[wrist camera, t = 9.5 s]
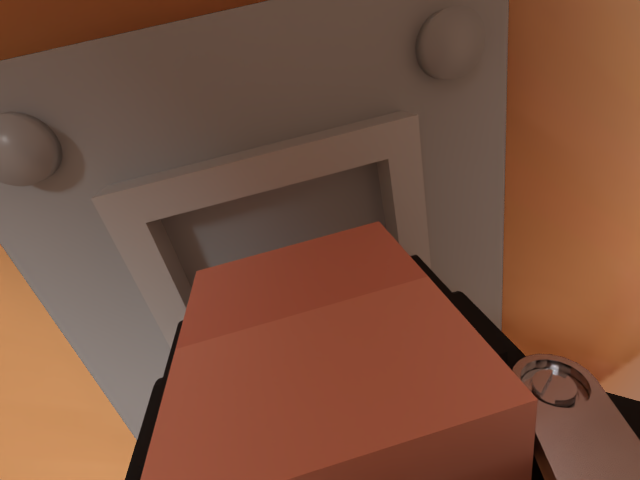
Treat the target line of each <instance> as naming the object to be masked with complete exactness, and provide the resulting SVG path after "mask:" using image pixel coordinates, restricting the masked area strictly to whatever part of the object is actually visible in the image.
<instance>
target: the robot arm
mask: <svg viewBox="0 0 640 480" xmlns="http://www.w3.org/2000/svg"><path fill="white" fill-rule="evenodd" d="M410 257H411V258H412V259H413V260H414V261H415V262H416V263H417V264H418V266H419V267H420V268H421V269H422V270H423V271H424V272H425V273H426V275H427V276H428V277H429V278H430V279H431V280H432V281H433V282H434V284H435V285H436V286H437V287H438V288H439V289H440V290H441V291H442V293H443V294H444V295H445V296H446V297H447V298H448V299H449V300H450V301H451V303H452V304H453V305H454V306H455V307H456V308H457V309H458V310H459V312H460V313H461V314H462V315H463V316H464V317H465V318H466V319H467V321H468V322H469V323H470V324H471V325H472V326H473V327H474V328H475V330H476V331H477V332H478V333H479V334H480V335H481V336H482V337H483V339H484V340H485V341H486V342H487V343H488V344H489V345H490V346H491V348H492V349H493V350H494V351H495V352H496V353H497V354H498V355H499V357H500V358H501V359H502V360H503V361H504V362H505V363H506V364H507V365H508V367H509V368H510V369H511V370H512V371H513V372H514V373H515V374H516V376H517V377H518V378H519V379H520V380H521V381H522V382H523V383H524V385H525V386H526V387H527V388H528V389H529V390H530V391H531V392H532V394H533V395H534V396H535V397H536V398H537V399H538V403H537V415H536V427H535V440H534V452H533V464H532V477H531V480H640V401H636V400H633V399H629V398H625V397H622V396H618V395H614V394H611V393H607V392H605V391H604V389H603V388H602V387H601V385H600V384H599V382H598V381H597V379H596V378H595V377H594V376H593V375H592V374H591V373H590V372H589V371H588V370H587V369H585V368H584V367H582V366H581V365H579V364H578V363H576V362H574V361H571V360H569V359H567V358H564V357H561V356H556V355H552V354H535V355H530V356H525V355H524V354H523V353H522V352H521V351H520V350H519V349H518V348H517V347H516V346H515V345H514V344H513V343H512V342H511V341H510V340H509V339H508V338H507V337H506V336H505V335H504V334H503V333H502V331H501V330H500V329H499V328H498V327H497V326H496V325H495V324H494V323H493V322H492V321H491V320H490V319H489V318H488V317H487V316H486V315H485V314H484V313H483V312H482V311H481V310H480V309H479V308H478V307H477V306H476V305H475V304H474V303H473V302H472V301H471V300H470V299H469V298H468V297H467V296H466V295H465V294H464V293H463V292H461V291H456V292H451V291H450V289H449V288H448V287H447V286H446V285H445V284H444V283H443V282H442V281H441V280H440V279H439V278H438V277H437V276H436V274H435V273H434V272H433V271H432V270H431V269H430V268H429V267H428V266H427V265H426V264H425V263H424V262H423V260H422V259H421V258H420V257H419V256H418V255H412V256H410ZM182 323H183V320H182V321H180V322H179V323H178V325H177V329H176V332H175V336H174V340H173V343H172V347H171V350H170V354H169V357H168V361H167V364H166V368H165V371H164V375H163V377H162V378H159V379H158V380H157V381H156V382H155V384H154V386H153V389H152V393H151V396H150V399H149V403H148V406H147V409H146V412H145V416H144V419H143V422H142V426H141V429H140V432H139V435H138V439H137V442H136V445H135V448H134V452H133V455H132V458H131V462H130V465H129V468H128V471H127V475H126V478H125V480H140V479H141V475H142V472H143V468H144V464H145V461H146V457H147V453H148V449H149V446H150V442H151V438H152V434H153V431H154V427H155V423H156V420H157V416H158V412H159V408H160V405H161V401H162V397H163V394H164V390H165V386H166V382H167V379H168V375H169V371H170V368H171V364H172V360H173V356H174V353H175V349H176V345H177V342H178V338H179V334H180V330H181V327H182Z"/></svg>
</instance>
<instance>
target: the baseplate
mask: <svg viewBox="0 0 640 480" xmlns="http://www.w3.org/2000/svg"><path fill="white" fill-rule="evenodd" d="M508 13H509V0H268V1H264V2H260V3H255V4H251V5H246V6H242V7H237V8H233V9H228V10H224V11H219V12H215V13H211V14H206V15H202V16H197V17H193V18H188V19H184V20H179V21H175V22H171V23H166V24H162V25H157V26H153V27H148V28H144V29H139V30H135V31H130V32H126V33H122V34H117V35H113V36H108V37H104V38H99V39H95V40H90V41H86V42H81V43H77V44H73V45H68V46H64V47H59V48H55V49H50V50H46V51H41V52H37V53H33V54H28V55H24V56H19V57H15V58H10V59H6V60H1V61H0V244H1V246H2V247H3V248H4V250H5V251H6V253H7V254H8V256H9V257H10V259H11V260H12V261H13V263H14V264H15V266H16V267H17V269H18V270H19V271H20V273H21V274H22V276H23V277H24V279H25V280H26V282H27V283H28V284H29V286H30V287H31V289H32V290H33V292H34V293H35V294H36V296H37V297H38V299H39V300H40V302H41V303H42V305H43V306H44V307H45V309H46V310H47V312H48V313H49V315H50V316H51V317H52V319H53V320H54V322H55V323H56V325H57V326H58V328H59V329H60V330H61V332H62V333H63V335H64V336H65V338H66V339H67V340H68V342H69V343H70V345H71V346H72V348H73V349H74V351H75V352H76V353H77V355H78V356H79V358H80V359H81V361H82V362H83V363H84V365H85V366H86V368H87V369H88V371H89V372H90V374H91V375H92V376H93V378H94V379H95V381H96V382H97V384H98V385H99V386H100V388H101V389H102V391H103V392H104V394H105V395H106V397H107V398H108V399H109V401H110V402H111V404H112V405H113V407H114V408H115V409H116V411H117V412H118V414H119V415H120V417H121V418H122V420H123V421H124V422H125V424H126V425H127V427H128V428H129V430H130V431H131V432H132V434H133V435H134V437H135V438H136V440H137V439H138V435H139V432H140V429H141V426H142V422H143V419H144V416H145V412H146V409H147V406H148V403H149V399H150V396H151V393H152V389H153V386H154V384H155V382H156V381H157V380H158V379H159V378H162V377H163V375H164V371H165V368H166V364H167V361H168V357H169V354H170V350H171V347H172V343H173V340H174V336H175V332H176V329H177V325H178V323H179V322H180V321H182V320H183V319H184V315H185V312H186V308H187V304H188V301H189V297H190V293H191V289H192V286H193V282H194V278H195V275H196V271H199V270H202V269H206V268H210V267H213V266H217V265H221V264H224V263H228V262H231V261H235V260H239V259H242V258H246V257H250V256H253V255H257V254H261V253H264V252H268V251H272V250H275V249H279V248H283V247H286V246H290V245H293V244H297V243H301V242H304V241H308V240H312V239H315V238H319V237H323V236H326V235H330V234H334V233H337V232H341V231H345V230H348V229H352V228H356V227H359V226H363V225H366V224H370V223H374V222H377V221H379V222H380V223H381V224H382V225H383V226H384V227H385V229H386V230H387V231H388V232H389V233H390V234H391V235H392V236H393V237H394V239H395V240H396V241H397V242H398V243H399V244H400V245H401V246H402V248H403V249H404V250H405V251H406V252H407V253H408V254H409V255H410V256H412V255H418V256H419V257H420V258H421V259H422V260H423V262H424V263H425V264H426V265H427V266H428V267H429V268H430V269H431V270H432V271H433V272H434V273H435V274H436V276H437V277H438V278H439V279H440V280H441V281H442V282H443V283H444V284H445V285H446V286H447V287H448V288H449V289H450V291H451V292H456V291H461V292H463V293H464V294H465V295H466V296H467V297H468V298H469V299H470V300H471V301H472V302H473V303H474V304H475V305H476V306H477V307H478V308H479V309H480V310H481V311H482V312H483V313H484V314H485V315H486V316H487V317H488V318H489V319H490V320H491V321H492V322H493V323H494V324H495V325H496V326H497V327H498V328H499V329H500V330H501V331H502V286H503V241H504V195H505V150H506V104H507V59H508Z"/></svg>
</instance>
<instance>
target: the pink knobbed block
mask: <svg viewBox="0 0 640 480" xmlns="http://www.w3.org/2000/svg"><path fill="white" fill-rule="evenodd" d="M537 403H538V399H537V398H536V397H535V396H534V395H533V394H532V392H531V391H530V390H529V389H528V388H527V387H526V386H525V385H524V383H523V382H522V381H521V380H520V379H519V378H518V377H517V376H516V374H515V373H514V372H513V371H512V370H511V369H510V368H509V367H508V365H507V364H506V363H505V362H504V361H503V360H502V359H501V358H500V357H499V355H498V354H497V353H496V352H495V351H494V350H493V349H492V348H491V346H490V345H489V344H488V343H487V342H486V341H485V340H484V339H483V337H482V336H481V335H480V334H479V333H478V332H477V331H476V330H475V328H474V327H473V326H472V325H471V324H470V323H469V322H468V321H467V319H466V318H465V317H464V316H463V315H462V314H461V313H460V312H459V310H458V309H457V308H456V307H455V306H454V305H453V304H452V303H451V301H450V300H449V299H448V298H447V297H446V296H445V295H444V294H443V293H442V291H441V290H440V289H439V288H438V287H437V286H436V285H435V284H434V282H433V281H432V280H431V279H430V278H429V277H428V276H427V275H426V273H425V272H424V271H423V270H422V269H421V268H420V267H419V266H418V264H417V263H416V262H415V261H414V260H413V259H412V258H411V257H410V255H409V254H408V253H407V252H406V251H405V250H404V249H403V248H402V246H401V245H400V244H399V243H398V242H397V241H396V240H395V239H394V237H393V236H392V235H391V234H390V233H389V232H388V231H387V230H386V229H385V227H384V226H383V225H382V224H381V223H380V222H379V221H377V222H374V223H370V224H366V225H363V226H359V227H356V228H352V229H348V230H345V231H341V232H337V233H334V234H330V235H326V236H323V237H319V238H315V239H312V240H308V241H304V242H301V243H297V244H293V245H290V246H286V247H283V248H279V249H275V250H272V251H268V252H264V253H261V254H257V255H253V256H250V257H246V258H242V259H239V260H235V261H231V262H228V263H224V264H221V265H217V266H213V267H210V268H206V269H202V270H199V271H196V275H195V278H194V282H193V286H192V289H191V293H190V297H189V301H188V304H187V308H186V312H185V315H184V319H183V323H182V327H181V330H180V334H179V338H178V342H177V345H176V349H175V353H174V356H173V360H172V364H171V368H170V371H169V375H168V379H167V382H166V386H165V390H164V394H163V397H162V401H161V405H160V408H159V412H158V416H157V420H156V423H155V427H154V431H153V434H152V438H151V442H150V446H149V449H148V453H147V457H146V461H145V464H144V468H143V472H142V475H141V479H140V480H531V477H532V464H533V452H534V440H535V427H536V415H537Z"/></svg>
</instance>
